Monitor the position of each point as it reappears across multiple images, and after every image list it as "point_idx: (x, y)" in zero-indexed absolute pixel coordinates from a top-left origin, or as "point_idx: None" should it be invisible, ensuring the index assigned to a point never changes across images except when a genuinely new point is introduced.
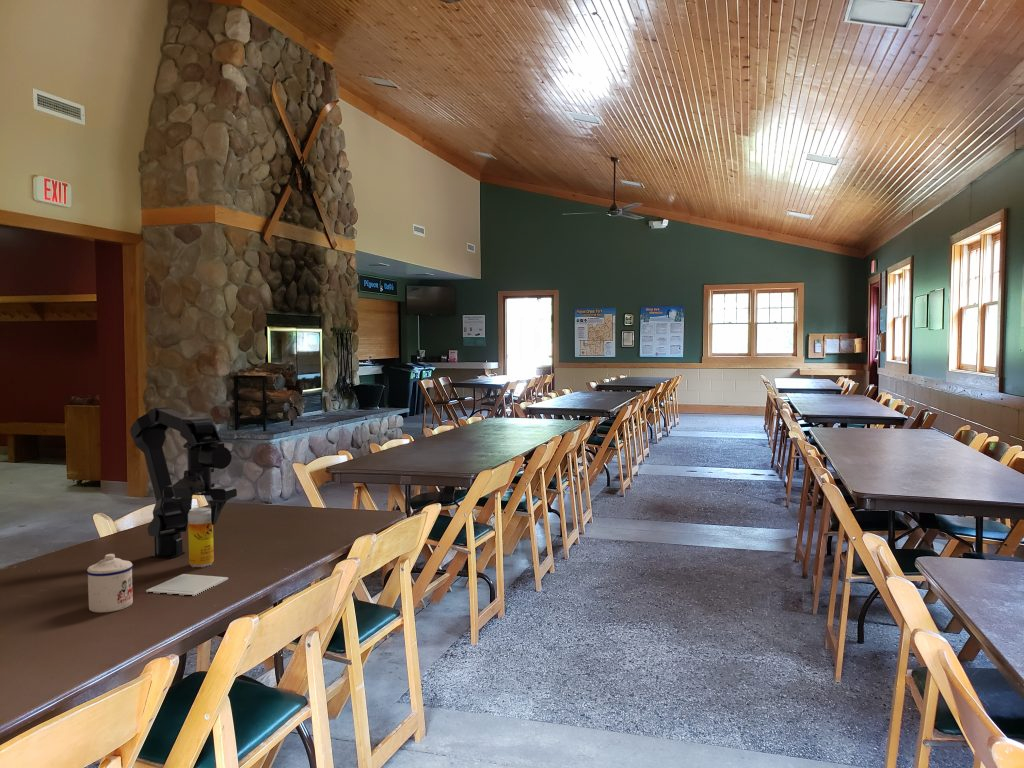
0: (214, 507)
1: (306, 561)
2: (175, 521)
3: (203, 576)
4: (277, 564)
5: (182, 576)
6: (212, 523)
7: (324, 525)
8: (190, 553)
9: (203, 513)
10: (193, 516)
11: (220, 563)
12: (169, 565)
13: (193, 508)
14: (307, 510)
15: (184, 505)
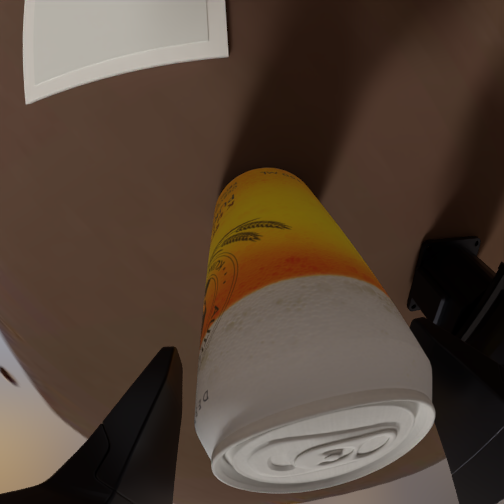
0: (68, 477)
1: (9, 328)
2: (486, 347)
3: (112, 64)
4: (32, 293)
5: (197, 24)
6: (163, 353)
7: (210, 482)
8: (295, 185)
9: (220, 415)
10: (326, 336)
11: (203, 252)
12: (388, 174)
13: (414, 444)
14: (298, 498)
15: (498, 426)
